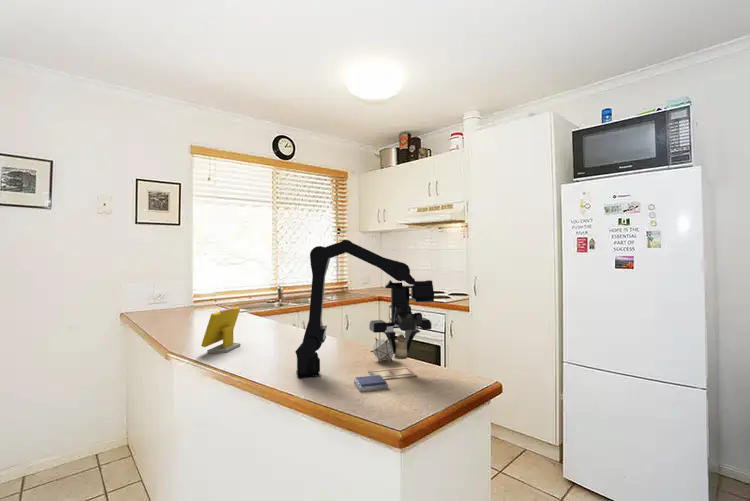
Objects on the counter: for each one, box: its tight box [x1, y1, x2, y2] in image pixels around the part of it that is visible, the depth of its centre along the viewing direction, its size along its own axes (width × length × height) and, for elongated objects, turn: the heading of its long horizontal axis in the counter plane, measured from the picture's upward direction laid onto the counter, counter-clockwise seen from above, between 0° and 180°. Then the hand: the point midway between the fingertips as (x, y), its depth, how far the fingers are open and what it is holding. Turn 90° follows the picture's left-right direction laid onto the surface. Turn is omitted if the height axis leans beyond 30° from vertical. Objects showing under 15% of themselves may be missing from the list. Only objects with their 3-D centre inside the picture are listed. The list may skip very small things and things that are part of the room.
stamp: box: [393, 333, 408, 360], centre depth 120 cm, size 4×4×7 cm
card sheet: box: [367, 366, 418, 381], centre depth 119 cm, size 13×9×1 cm
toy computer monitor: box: [201, 306, 241, 354], centre depth 153 cm, size 20×8×16 cm, turn 172°
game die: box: [370, 337, 394, 363], centre depth 134 cm, size 9×8×10 cm
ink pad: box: [353, 375, 389, 392], centre depth 109 cm, size 8×7×2 cm
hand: (400, 352), depth 120 cm, fingers closed on stamp, 4 cm apart
